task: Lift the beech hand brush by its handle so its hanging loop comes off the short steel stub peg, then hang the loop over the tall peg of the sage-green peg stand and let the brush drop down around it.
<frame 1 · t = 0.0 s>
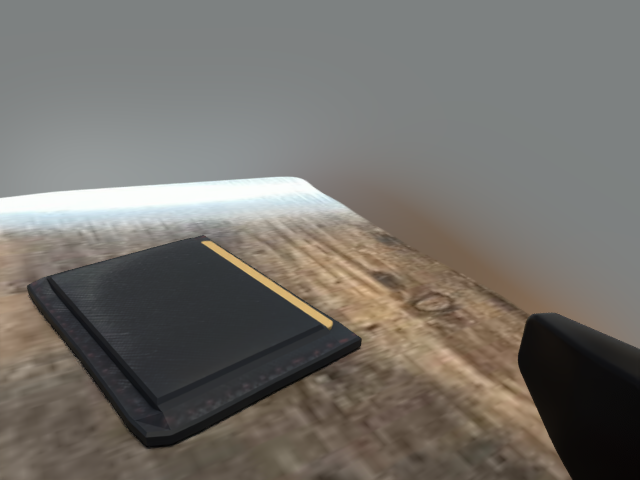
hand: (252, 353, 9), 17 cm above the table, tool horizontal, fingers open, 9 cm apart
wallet: (185, 321, 39), on the table
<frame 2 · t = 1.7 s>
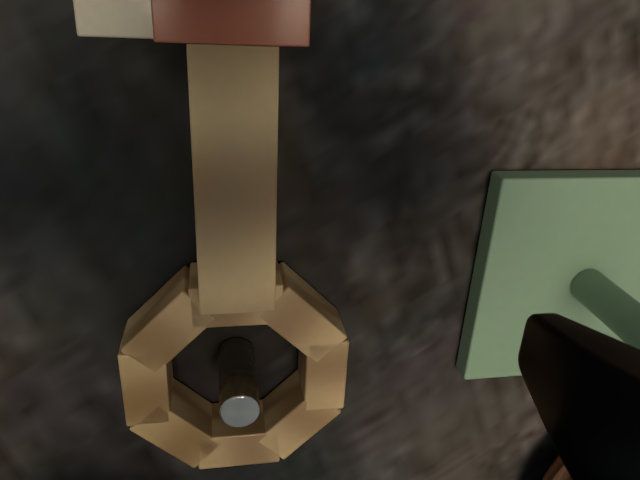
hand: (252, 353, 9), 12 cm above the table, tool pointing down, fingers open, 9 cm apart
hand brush: (236, 351, 23), on the table
peg stand: (571, 271, 24), on the table
cup and saucer: (619, 465, 30), on the table
stub peg: (236, 351, 23), on the table
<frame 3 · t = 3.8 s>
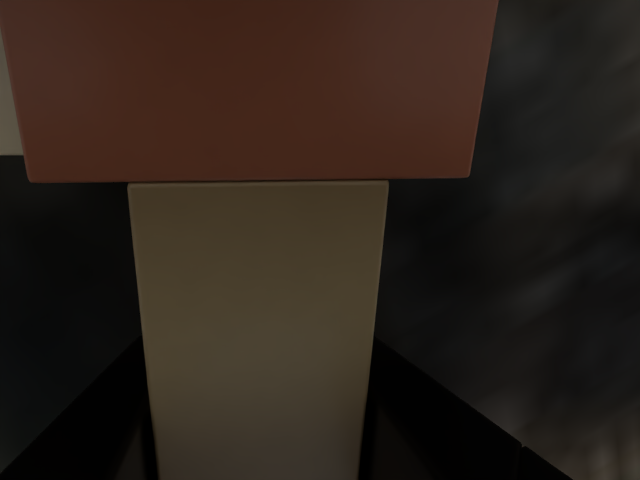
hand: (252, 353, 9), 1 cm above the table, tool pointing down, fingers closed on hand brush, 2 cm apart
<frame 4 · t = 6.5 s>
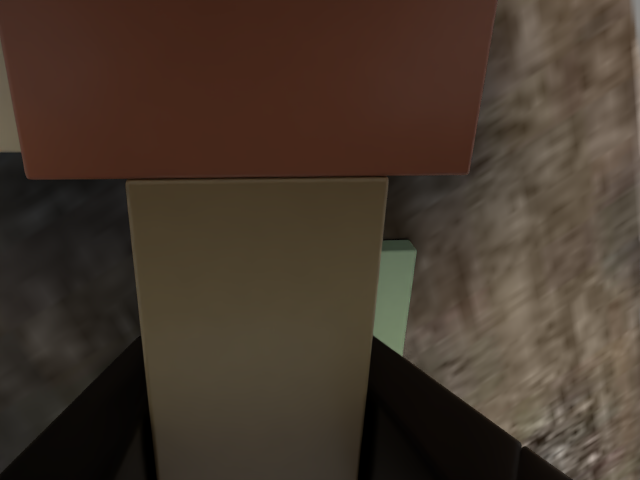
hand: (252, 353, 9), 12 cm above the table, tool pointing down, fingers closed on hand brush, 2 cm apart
peg stand: (288, 343, 23), on the table
when the fingers open (2 cm above the table, at t = 9.6 s): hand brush stays where it is, resting on peg stand.
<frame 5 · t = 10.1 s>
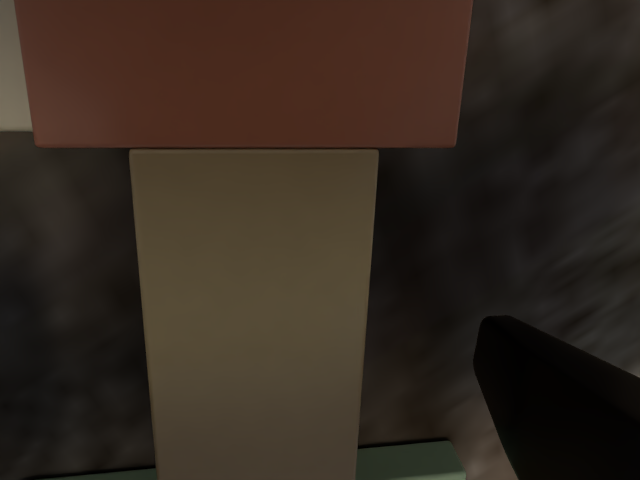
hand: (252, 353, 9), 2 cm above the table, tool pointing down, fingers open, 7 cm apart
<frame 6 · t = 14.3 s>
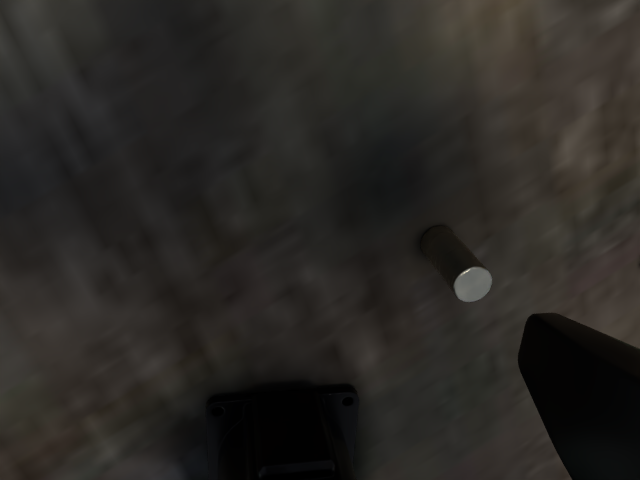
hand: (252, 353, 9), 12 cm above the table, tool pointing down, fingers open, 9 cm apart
stub peg: (437, 241, 22), on the table
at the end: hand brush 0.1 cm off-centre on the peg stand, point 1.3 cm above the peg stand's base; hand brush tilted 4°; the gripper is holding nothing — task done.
